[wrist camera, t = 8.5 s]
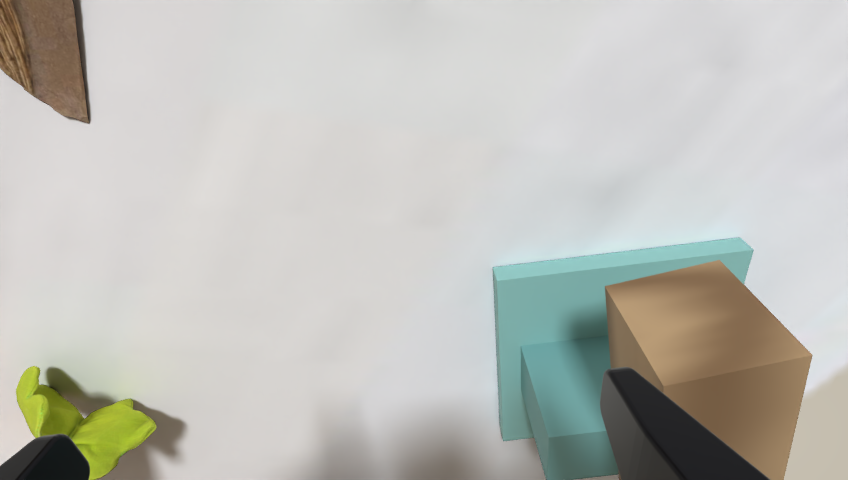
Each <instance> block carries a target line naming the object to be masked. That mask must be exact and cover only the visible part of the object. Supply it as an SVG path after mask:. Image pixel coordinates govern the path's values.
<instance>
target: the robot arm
mask: <svg viewBox="0 0 848 480" xmlns="http://www.w3.org/2000/svg"><path fill="white" fill-rule="evenodd" d="M600 409H601V415H602V418H603V421H604V425H605V428H606V431H607V434H608V438H609V441H610V444H611V447H612V451H613V454H614V457H615V460H616V464H617V467H618V470H619V473H620V477H621V480H771V479H769V478H768V477H767V476H766V475H764V474H763V473H762V472H761V471H759V470H758V469H757V468H756V467H754V466H753V465H752V464H751V463H749V462H748V461H747V460H746V459H744V458H743V457H742V456H741V455H739V454H738V453H737V452H736V451H735V450H733V449H732V448H731V447H730V446H728V445H727V444H726V443H725V442H723V441H722V440H721V439H720V438H718V437H717V436H716V435H715V434H713V433H712V432H711V431H710V430H708V429H707V428H706V427H705V426H703V425H702V424H701V423H700V422H699V421H697V420H696V419H695V418H694V417H692V416H691V415H690V414H689V413H687V412H686V411H685V410H684V409H682V408H681V407H680V406H679V405H677V404H676V403H675V402H674V401H672V400H671V399H670V398H669V397H667V396H666V395H665V394H664V393H663V392H661V391H660V390H659V389H658V388H656V387H655V386H654V385H653V384H651V383H650V382H649V381H648V380H646V379H645V378H644V377H643V376H641V375H640V374H639V373H638V372H636V371H635V370H634V369H632V368H630V367H619V368H611V369H607V370H605V372H604V374H603V380H602V389H601V397H600ZM89 476H90V465H89V462H88V460H87V459H86V458H85V456H84V455H83V454H82V452H81V451H80V450H79V449H78V447H77V446H76V445H75V443H74V442H73V441H72V439H71V438H70V437H69V436H67V435H65V434H54V435H46V436H41V437H38V438H36V439H34V440H33V441H31V442H30V443H29V444H27V445H26V446H25V447H24V448H22V449H21V450H20V451H19V452H17V453H16V454H15V455H13V456H12V457H11V458H10V459H8V460H7V461H6V462H5V463H3V464H2V465H1V466H0V480H89Z"/></svg>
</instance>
